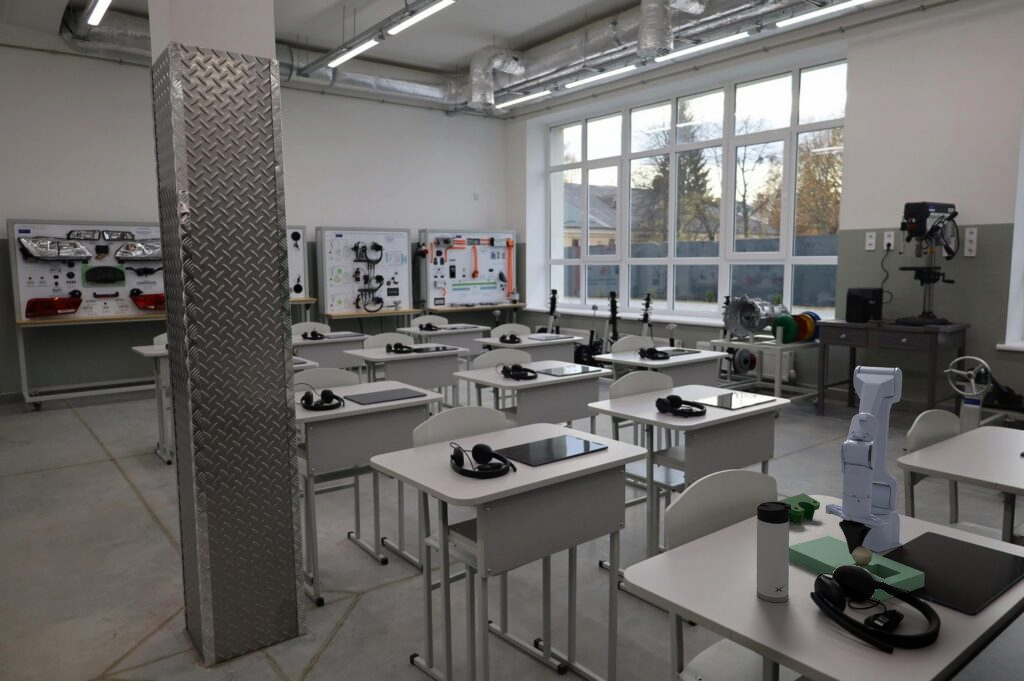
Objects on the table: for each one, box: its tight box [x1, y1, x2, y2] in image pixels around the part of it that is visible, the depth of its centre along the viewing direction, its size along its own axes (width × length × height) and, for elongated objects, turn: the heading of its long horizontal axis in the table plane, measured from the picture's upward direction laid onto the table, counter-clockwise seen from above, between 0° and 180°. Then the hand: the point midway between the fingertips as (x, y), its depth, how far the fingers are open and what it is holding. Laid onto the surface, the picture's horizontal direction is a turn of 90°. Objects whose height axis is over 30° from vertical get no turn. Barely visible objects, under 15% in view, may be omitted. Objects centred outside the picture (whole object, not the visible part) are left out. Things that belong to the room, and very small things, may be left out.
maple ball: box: [852, 546, 873, 565], centre depth 149 cm, size 4×4×4 cm
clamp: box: [777, 493, 821, 525], centre depth 185 cm, size 12×6×9 cm, turn 117°
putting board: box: [789, 535, 926, 602], centre depth 152 cm, size 24×14×3 cm, turn 25°
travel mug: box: [756, 501, 791, 603], centre depth 141 cm, size 6×7×20 cm
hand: (854, 554), depth 150 cm, fingers closed, pressing on maple ball
